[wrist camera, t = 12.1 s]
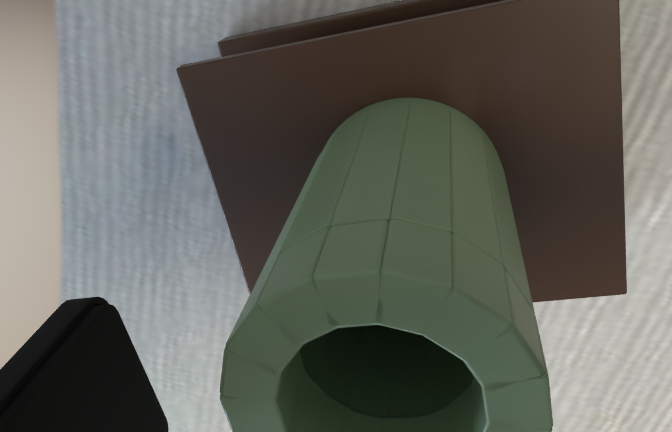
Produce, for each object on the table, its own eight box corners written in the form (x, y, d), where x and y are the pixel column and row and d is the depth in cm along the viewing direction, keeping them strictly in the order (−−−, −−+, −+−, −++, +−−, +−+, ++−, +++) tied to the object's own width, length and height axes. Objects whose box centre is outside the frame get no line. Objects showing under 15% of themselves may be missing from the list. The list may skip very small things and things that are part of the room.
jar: (297, 114, 16) (177, 291, 9) (492, 81, 15) (537, 252, 8) (338, 276, 18) (266, 526, 11) (512, 257, 17) (562, 523, 10)
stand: (224, 37, 19) (175, 68, 16) (582, -38, 17) (619, -20, 13) (289, 260, 22) (259, 327, 19) (595, 225, 20) (627, 294, 17)
